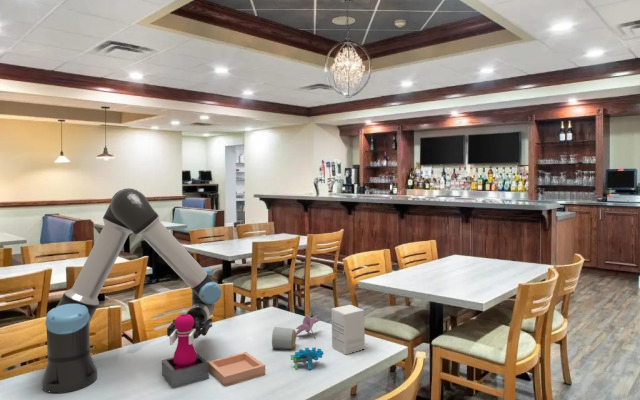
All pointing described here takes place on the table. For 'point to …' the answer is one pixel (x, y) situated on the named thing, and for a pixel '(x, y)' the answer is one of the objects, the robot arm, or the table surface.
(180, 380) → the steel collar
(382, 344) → the table surface
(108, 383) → the table surface
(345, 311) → the supplement box
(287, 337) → the ceramic mug
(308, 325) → the lily
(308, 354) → the blue bumpy piece
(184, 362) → the pepper mill
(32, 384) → the table surface
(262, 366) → the terracotta tray
